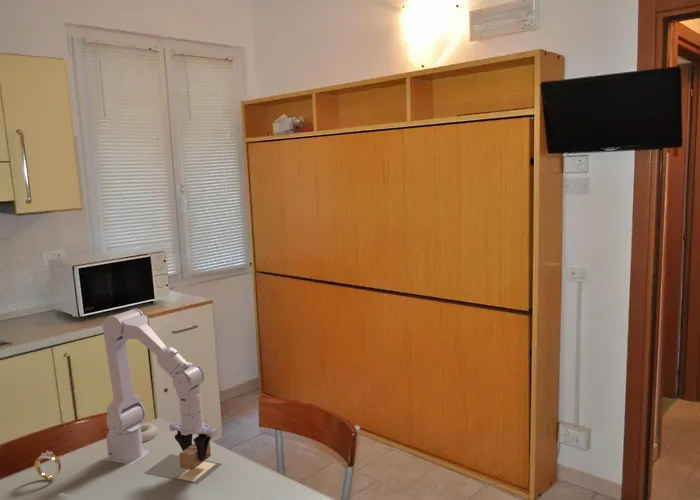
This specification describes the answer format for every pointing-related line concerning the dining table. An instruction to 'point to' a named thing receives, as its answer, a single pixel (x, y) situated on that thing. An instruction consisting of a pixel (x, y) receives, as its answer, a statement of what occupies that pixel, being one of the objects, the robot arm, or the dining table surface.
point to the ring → (52, 457)
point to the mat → (182, 470)
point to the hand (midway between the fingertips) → (195, 458)
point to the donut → (148, 432)
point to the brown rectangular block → (192, 457)
